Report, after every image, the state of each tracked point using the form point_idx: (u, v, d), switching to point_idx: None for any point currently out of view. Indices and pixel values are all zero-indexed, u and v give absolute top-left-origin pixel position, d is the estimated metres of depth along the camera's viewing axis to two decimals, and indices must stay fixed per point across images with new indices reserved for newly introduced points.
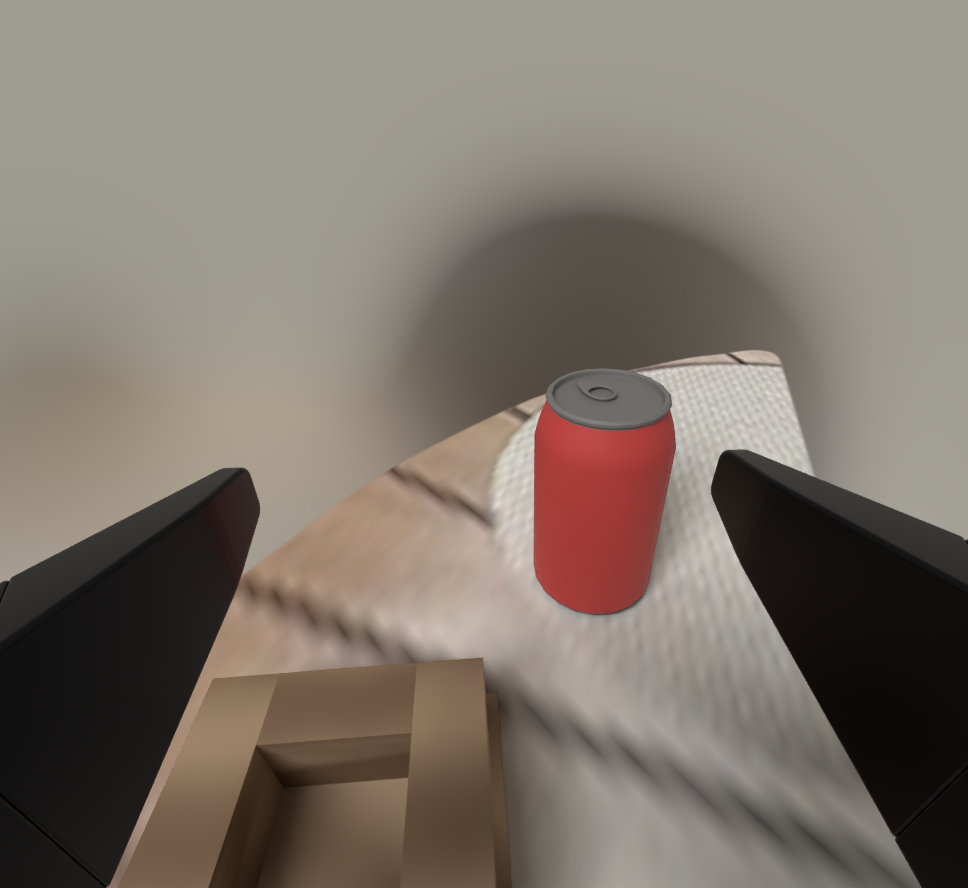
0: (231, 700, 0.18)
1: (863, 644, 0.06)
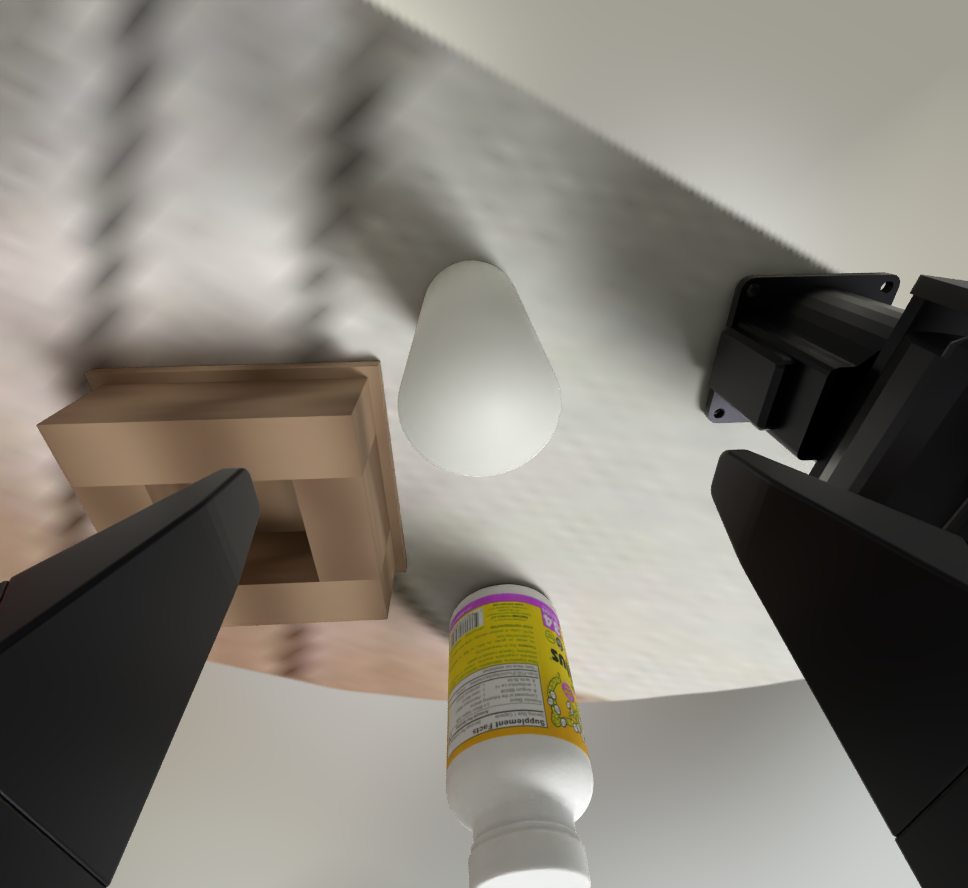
0: None
1: (863, 644, 0.06)
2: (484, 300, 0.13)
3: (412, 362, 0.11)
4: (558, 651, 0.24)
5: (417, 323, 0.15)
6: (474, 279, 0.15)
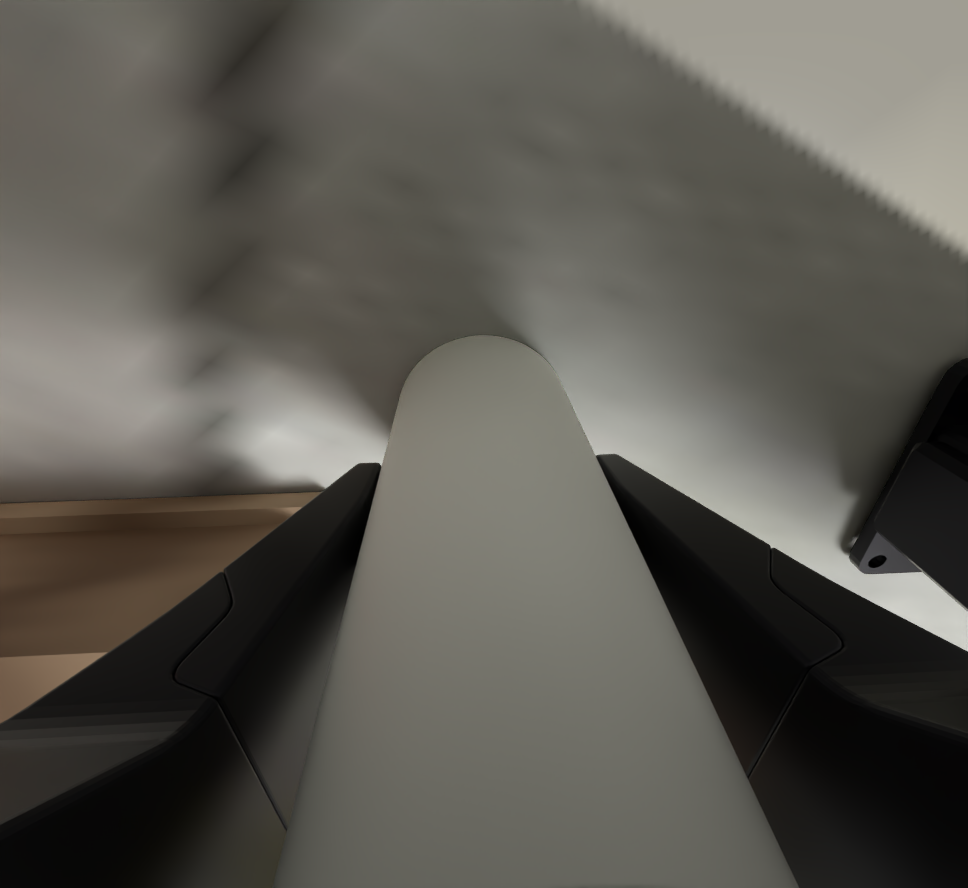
0: None
1: None
2: (532, 532, 0.05)
3: None
4: None
5: (372, 502, 0.07)
6: (494, 410, 0.07)
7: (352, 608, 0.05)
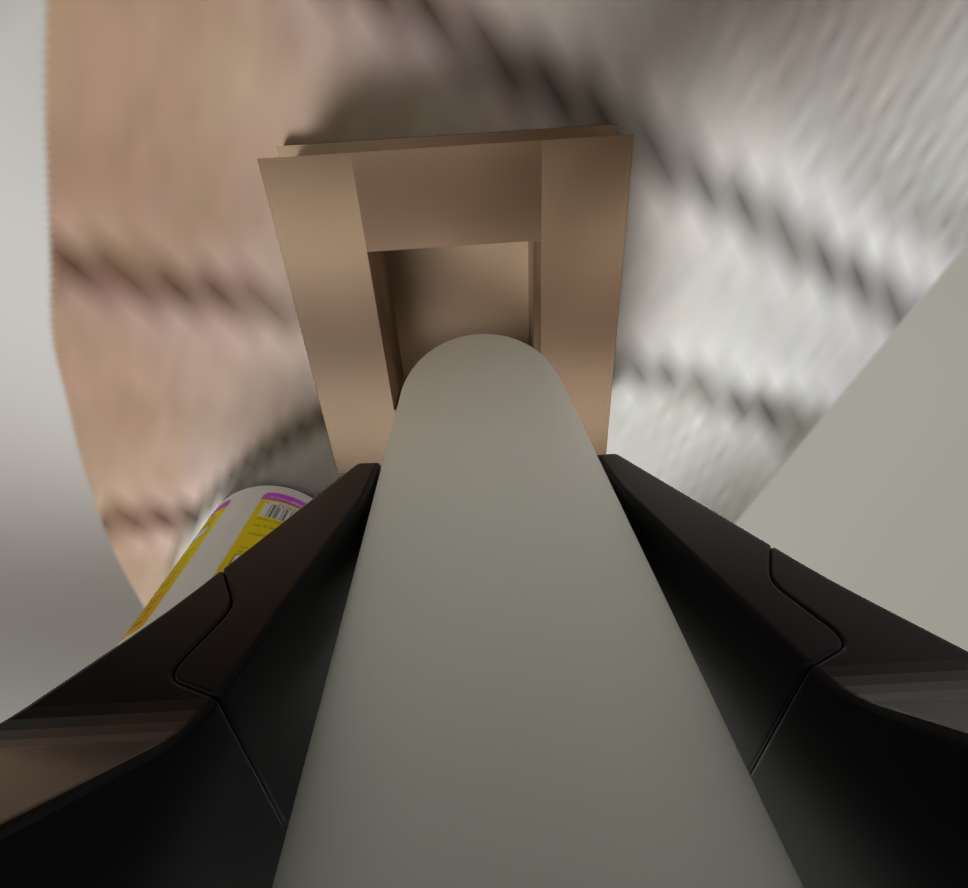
0: (304, 194, 0.14)
1: None
2: (534, 530, 0.05)
3: None
4: None
5: None
6: (495, 408, 0.07)
7: (352, 607, 0.05)
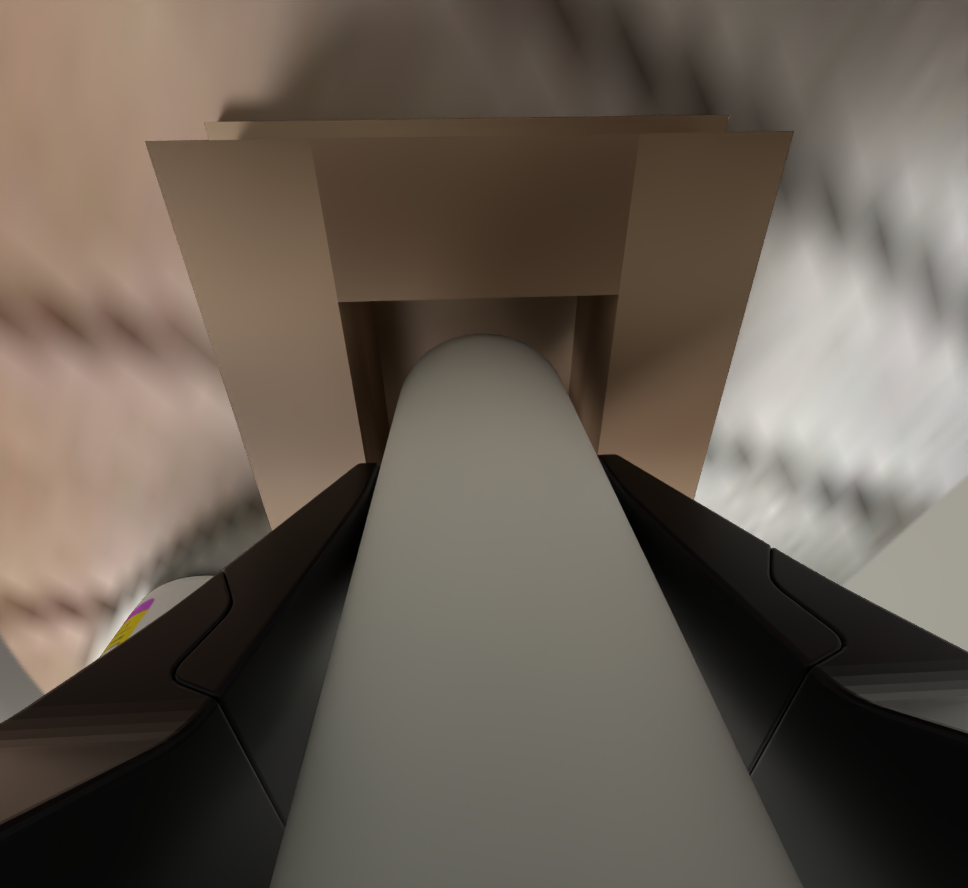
0: (231, 205, 0.08)
1: None
2: (533, 530, 0.05)
3: None
4: None
5: (371, 501, 0.07)
6: (494, 407, 0.07)
7: (351, 607, 0.05)
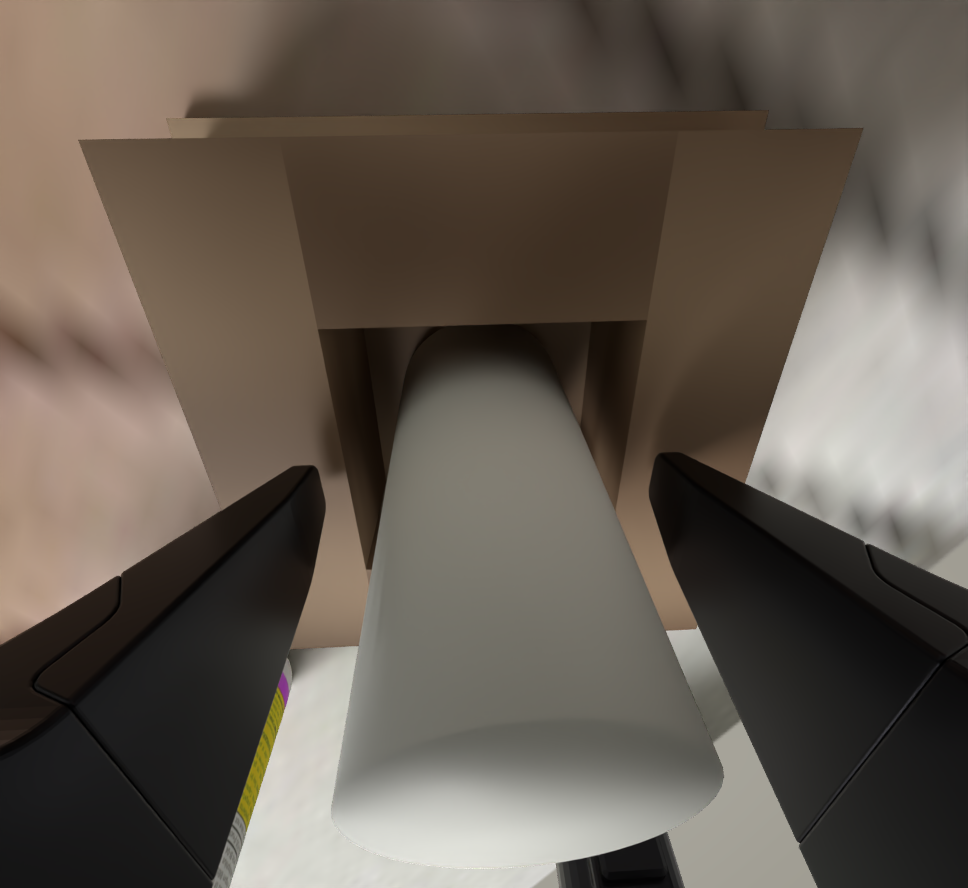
0: (187, 217, 0.07)
1: (769, 649, 0.06)
2: (526, 496, 0.06)
3: (360, 770, 0.04)
4: None
5: (389, 471, 0.08)
6: (494, 392, 0.08)
7: (383, 557, 0.06)
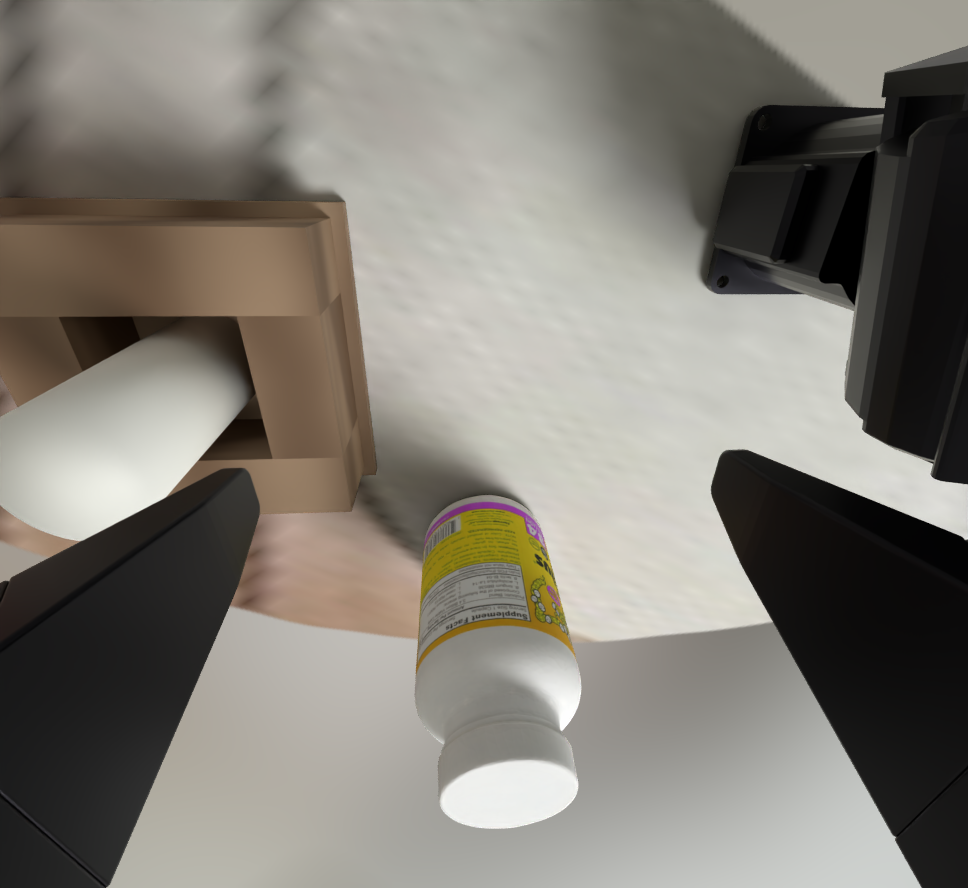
0: None
1: (863, 644, 0.06)
2: None
3: (41, 529, 0.13)
4: (543, 558, 0.22)
5: None
6: None
7: None
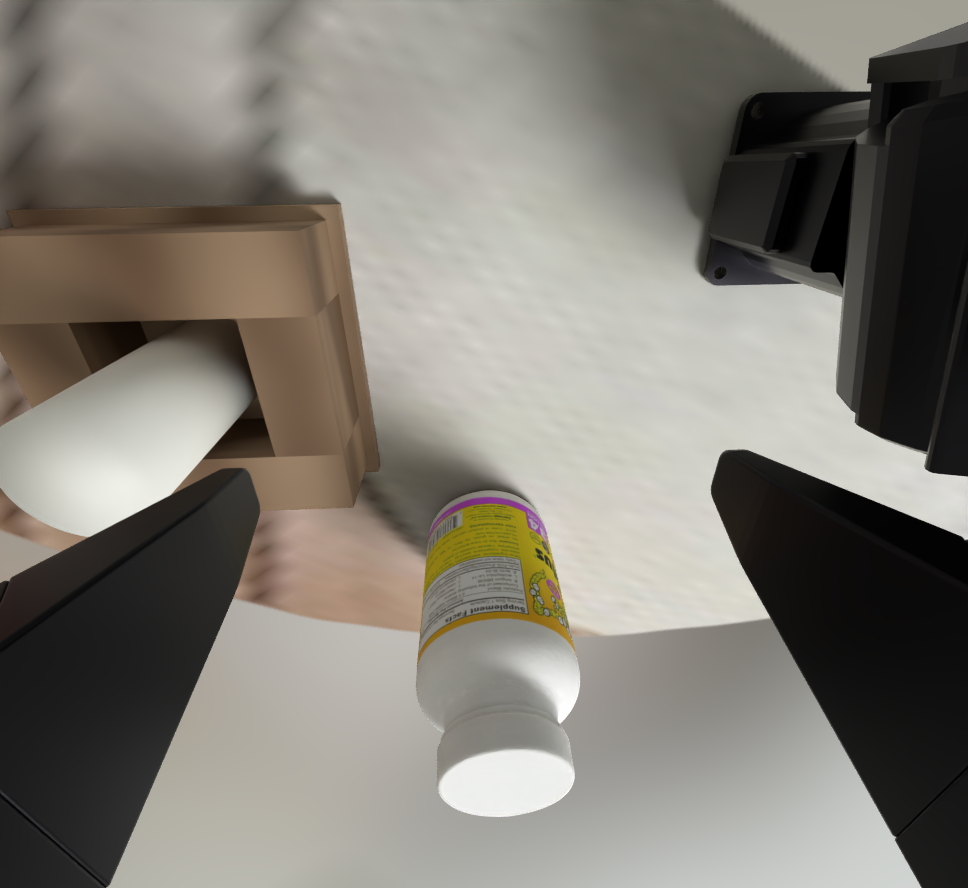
0: None
1: (863, 644, 0.06)
2: None
3: (54, 526, 0.13)
4: (544, 552, 0.22)
5: None
6: None
7: None
